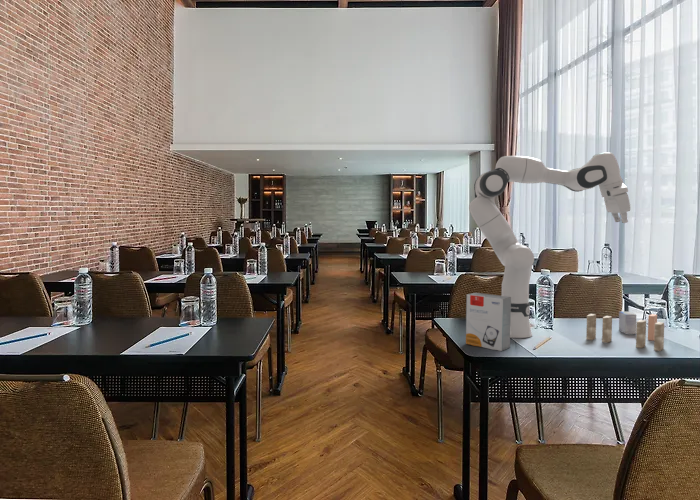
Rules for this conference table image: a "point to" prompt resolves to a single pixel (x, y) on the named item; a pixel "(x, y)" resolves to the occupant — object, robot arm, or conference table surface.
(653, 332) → the domino
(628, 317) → the medicine box
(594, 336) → the domino
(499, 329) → the hard drive box
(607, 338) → the domino
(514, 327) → the robot arm
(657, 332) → the end domino
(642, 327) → the domino
